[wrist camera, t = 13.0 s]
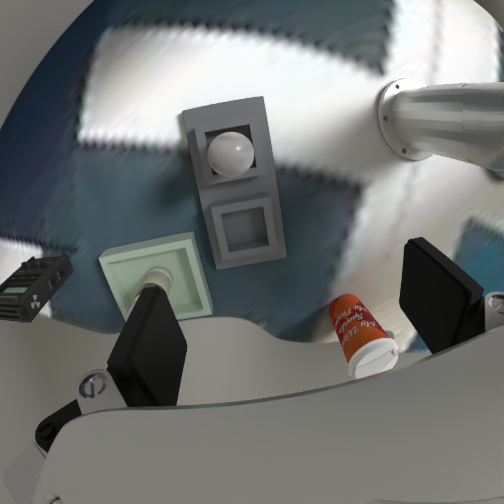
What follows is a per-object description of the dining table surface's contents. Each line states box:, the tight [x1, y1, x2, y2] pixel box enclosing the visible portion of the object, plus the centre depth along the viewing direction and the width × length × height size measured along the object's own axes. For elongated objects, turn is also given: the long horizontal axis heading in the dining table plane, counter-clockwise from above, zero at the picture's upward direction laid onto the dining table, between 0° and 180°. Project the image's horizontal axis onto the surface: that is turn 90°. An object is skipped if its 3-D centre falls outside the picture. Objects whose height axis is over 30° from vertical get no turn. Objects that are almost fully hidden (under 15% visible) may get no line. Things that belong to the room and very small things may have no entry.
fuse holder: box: [182, 96, 287, 270], centre depth 34 cm, size 10×22×4 cm, turn 9°
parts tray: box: [99, 231, 213, 321], centre depth 39 cm, size 14×12×3 cm
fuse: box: [208, 132, 254, 177], centre depth 28 cm, size 4×4×10 cm
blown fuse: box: [127, 266, 173, 319], centre depth 35 cm, size 4×4×10 cm
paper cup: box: [329, 294, 398, 379], centre depth 39 cm, size 8×8×14 cm
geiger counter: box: [0, 253, 73, 323], centre depth 31 cm, size 10×4×15 cm, turn 93°
